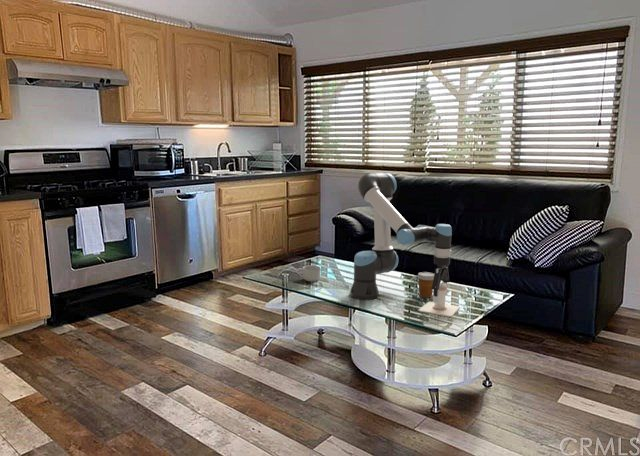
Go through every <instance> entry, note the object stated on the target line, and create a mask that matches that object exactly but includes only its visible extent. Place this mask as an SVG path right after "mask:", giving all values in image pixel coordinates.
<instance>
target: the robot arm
mask: <svg viewBox="0 0 640 456" xmlns="http://www.w3.org/2000/svg"><path fill="white" fill-rule="evenodd" d="M397 186H398V185H397V180H396V178H395V177H394V175H392V174H391V173H388V172H375V173H374V172H373V173H369V172H368V173H365V174H363V175H362V176H361V177H360V178H359V180H358V183H357V190H358V193H359V195H360V196H361V197H362V199H363V200H364V201H365V202H367V203H369V204H370V205H371V206H372V207H373V217H374V218H373V219H374V221H373V223H374V224H373V225H374V226H373V227H374V246H373V247H372V248H371V249H372V250H362V251H358V252H356V254H355V255H354V259H353V260H354V261H353V283H352V286H351V288H350V294H349V295H350V297H351V298H354V299H357V300H362V301H363V300H366V301H367V300H370V301H371V300H374V299H378V298H379V297H380V295H379V293H380V292H379V288H378V284H377V275H381V274H384V273H386V274H387V273H390V272H392V271H394V270H396V268H397V267H398V266H399V265H398V264H399V255H398V254H397V251H395V250H394V249H395V248H394V247H393V246H392V240H391V236H392V234H391V232H392V231H391V229H392V230H393V231H394V232H395V234H396V239H397V242H398V243H399V244H400V245H403V246H405V245H407V246H408V245H413V244H418V243H424V242H428V243H434V253H433V255H434V256H433V264H434V265H436V266H437V267H436V268H434V279H433V285H432V288H431V289H433V291H432V302H435V303H439V286H440V283H444V284H446V296H448V283H450V274H449V265H450V264H451V257H450V256H451V253H452V250H451V248H452V244H451V243H452V236H453V233H452V232H453V229H452V226H451V225H450V224H448V223H447V224H446V223H437V224H436V225H435V226H429V225H425V224H418V225H417V226H415V227H413V226H412V225H411V224H410V223H409V222H408V221H407V220H406V219H405V217H404V216H402V214H401V213H400V212H399V211H398V210H397V209H396V208H395V207H394V206H393V205H392V203H391V202H390V201H391V200H392V199H393V194H395V192H396V190H397V188H398V187H397ZM441 281H442V282H441ZM435 286H436V287H435Z"/></svg>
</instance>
